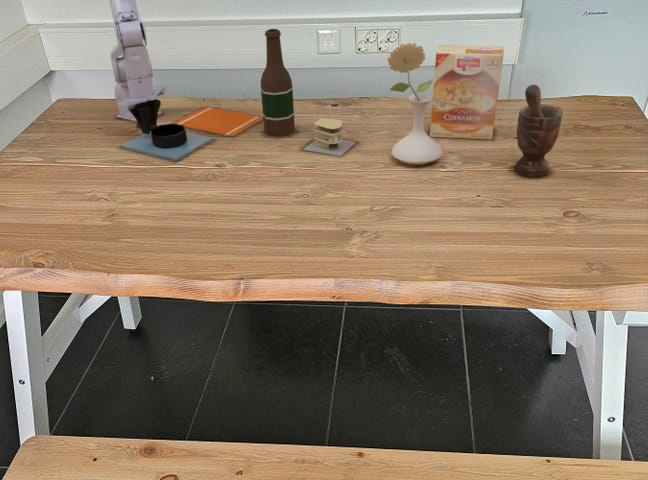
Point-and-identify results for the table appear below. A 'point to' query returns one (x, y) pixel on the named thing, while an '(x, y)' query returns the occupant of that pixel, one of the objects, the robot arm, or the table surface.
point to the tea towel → (218, 121)
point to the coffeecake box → (465, 91)
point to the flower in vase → (416, 143)
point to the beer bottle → (276, 90)
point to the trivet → (173, 153)
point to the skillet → (167, 135)
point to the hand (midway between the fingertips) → (149, 131)
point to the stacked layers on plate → (329, 138)
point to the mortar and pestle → (536, 133)
